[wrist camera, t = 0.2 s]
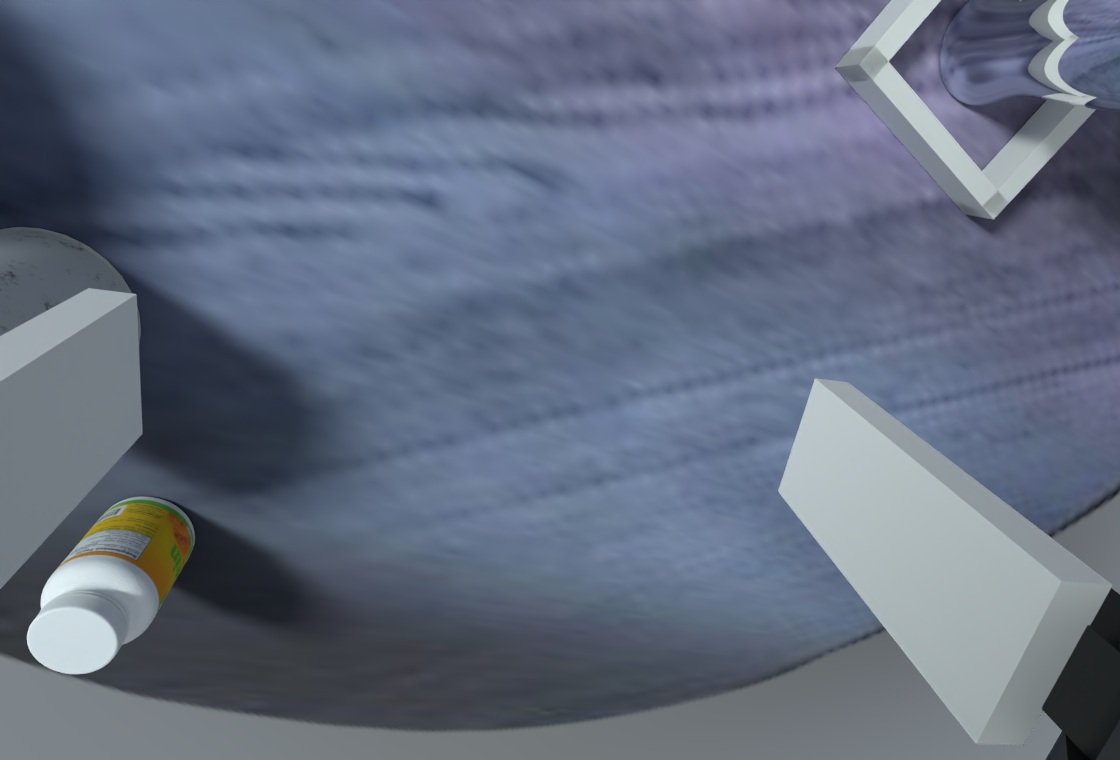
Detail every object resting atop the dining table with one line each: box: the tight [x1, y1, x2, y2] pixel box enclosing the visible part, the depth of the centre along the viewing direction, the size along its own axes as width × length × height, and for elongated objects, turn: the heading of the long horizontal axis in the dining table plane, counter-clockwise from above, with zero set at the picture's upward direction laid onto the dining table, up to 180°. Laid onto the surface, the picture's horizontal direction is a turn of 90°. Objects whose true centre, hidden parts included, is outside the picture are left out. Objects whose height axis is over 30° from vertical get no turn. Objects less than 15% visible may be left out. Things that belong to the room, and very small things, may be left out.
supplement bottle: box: [27, 496, 195, 674], centre depth 38 cm, size 5×5×10 cm
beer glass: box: [940, 0, 1120, 112], centre depth 34 cm, size 7×7×15 cm
